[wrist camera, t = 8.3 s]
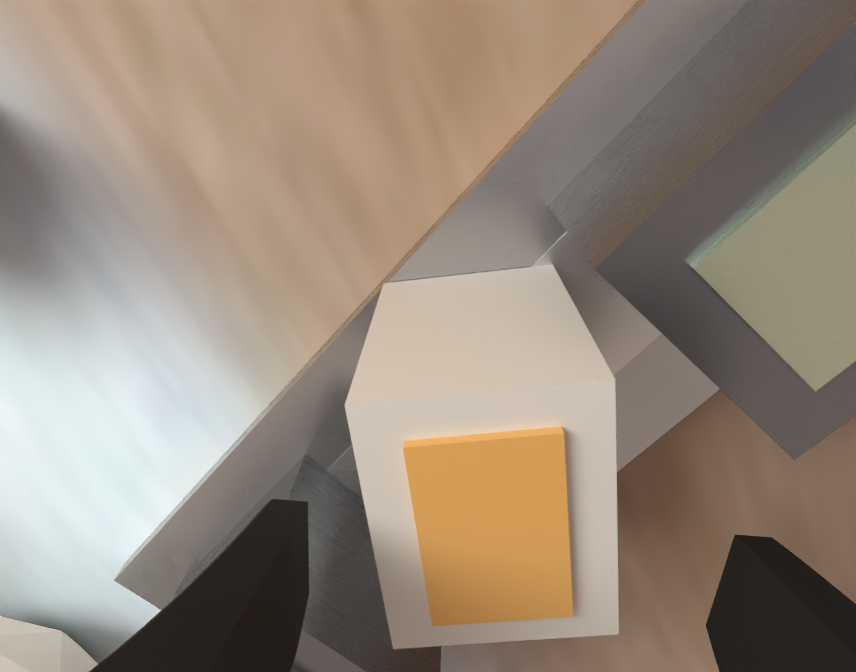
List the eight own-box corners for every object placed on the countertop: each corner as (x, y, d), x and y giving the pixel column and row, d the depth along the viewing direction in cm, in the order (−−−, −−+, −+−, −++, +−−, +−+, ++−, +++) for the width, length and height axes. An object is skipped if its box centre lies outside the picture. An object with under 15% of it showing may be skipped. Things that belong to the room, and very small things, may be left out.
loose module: (552, 264, 15) (618, 385, 9) (562, 446, 17) (621, 644, 11) (383, 283, 15) (342, 412, 9) (411, 460, 17) (391, 658, 11)
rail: (986, 146, 14) (1330, 192, 9) (326, 688, 21) (284, 901, 16) (766, -139, 12) (1027, -316, 7) (126, 561, 20) (-1, 752, 14)
